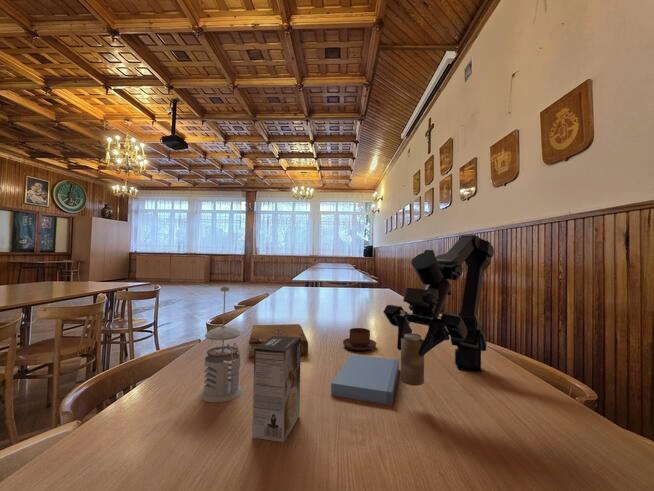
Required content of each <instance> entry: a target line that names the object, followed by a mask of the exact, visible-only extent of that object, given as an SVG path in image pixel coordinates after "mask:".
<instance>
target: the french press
mask: <svg viewBox="0 0 654 491" xmlns="http://www.w3.org/2000/svg"><path fill="white" fill-rule="evenodd" d="M229 291H230V288H229V287H228V286H226V285H224V286H223V285H222V286H221V287H220V292H223V318H222V321H223V322H222V324H223V325H221V326H217V327H215V328H213V329H210V330H209V331H207V332H206V333H205V335H204V337H205V338H206V339H207V340H211V341H222V345H221V346H216V347H212V348H210V349H208V350H207V351H206V355H207V356H205V357H204V373H205V375H204V376H203V378H204V379H205V380H204V381H203V384H204V385H203V389H202V390H201V391H200V392H199V394H198V396H199V399H200V400H202V401H204V402H208V403H223V402H228V401H231V400H234V399H236V398H238V397H240V395H241V394H243V390H244V389H243V387H242V386H241V385H240V384H239V380H240V366H241V355H240V349H239V346H238V345H237V343H236V342H234V343H233V346H230V344H226V346H224V345H225V343H224V341H227V340H233V339H236V338H238V337H240V335H241V334H242V331H240V330H239V329H237V328H235V327H232V326H227V325H225V313H226V311H225V310H226V292H229ZM224 361H225V362H224ZM229 362H231V363H229ZM206 367H207V368H206ZM229 367H230V368H229ZM229 377H230V378H229Z"/></svg>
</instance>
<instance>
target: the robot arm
mask: <svg viewBox="0 0 654 491" xmlns="http://www.w3.org/2000/svg"><path fill="white" fill-rule="evenodd" d="M435 254H436V253H435V251H434V249H424V251H423V252H421V253H418V254H417V255H416V256H415V257H413V258H412V259H411V262H410V263H411V266H412V268H413V270H414V272H415V273H416V274H415V275H416V276H417V278H418V280H419V282H420V283H421V284H423V285H424V286H423V288H415V287H406V288H405V291H404V295H403V302H404V303H406V304H408V309H409V311H412V313H411V312H410V313H409V312H407V311H406V310H404V308H403V306H401V305H397V304H395V305H394V304H387V305H386V306H385V308H384V309H383V315H384V316H385V317H386V319H387V320H388V322H389V323H390V325H392V326H394V327H397V329H398V330H397V343H396V344H397V345H396V348H397V350H398V351H401V338H403V337H404V334H407V333H412V332H413V329H412V328H411V326H410V324H411V323H414V324H416V325H417V324H418V325H423V326H426V327H428V330H427V332H426V335H425V337H424V339H423V340H424V341H423V343H422V346H421V348H420V352H419V355H420V356H423V355H424V356H425V355H426V354H427V353H429V352H430V351H431V350H432V349H433V348H435V347H436V346H438V345H439V344H441V343H443V342H444V341H449V340H450V342H451V346H455V347H456V348H455V349H454V364H455V366H456V367H457V369H458V370H461V371H468V372H475V373H483V369H482V352H486V351H487V346H488V345H487V339H486V336H485V334H484V331H483V324H482V322H481V321H480V319H479V309H480V308H479V307H480V302H481V300H480V299H481V292H482V286H483V278H484V273H485V270H486V269H487V268H489V266H490V265H491V263H492V258H494V254H495V249H494V246H493V245H492V243H491V242H490V241H488V240H485V239H483V238H480V237H479V235H475V234H465V235H464V234H463V235H460V236H459V238H458V240H457V241H456V242H455V243H454V245H453V246H451V248H449V250H448V251H447V252H446V253H443V254H439V255H435ZM464 262H465V265H466V274H465V275H466V276H465V282H464V287H463V294H462V299H461V300H462V301H461V307H460V308H461V309H460V311H459V313H457V314H453V313H445V312H444V311H445V307H444V304H445V301H446V299H447V296H451V295H452V289H451V287H452V286H451V283H450V282H449V281H455V282H456V281H458V280H459V279H460V277H461V276H462V274H463V272H464V269H463V268H464V267H463V265H462V264H463V263H464ZM441 313H442V314H441ZM440 314H441V316H440ZM439 317H440V318H439Z"/></svg>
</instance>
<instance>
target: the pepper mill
mask: <svg viewBox="0 0 654 491" xmlns="http://www.w3.org/2000/svg"><path fill="white" fill-rule="evenodd" d="M423 341H424V339H423V338H422V335H420V334H418V333H407V334H404V337H403V338H401V350H400V381H401V382H402V383H403V384H405V385H408V386H423V385H424V384H425V355H423V356H420V355H419V352H420V348H421V346H422V343H423Z"/></svg>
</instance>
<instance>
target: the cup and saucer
mask: <svg viewBox="0 0 654 491" xmlns="http://www.w3.org/2000/svg"><path fill="white" fill-rule="evenodd" d="M342 345H344V346H345V348H348V349H350V350H356V351H368V350H369V351H370V350H372V349H374V348H375V347H376V346H377V342H376V341H375V340H373V339H371V330H370V329H367V328H363V327H362V328H361V327H353V328H350V329H349V337H348V338H345V339H344V340H343V341H342Z"/></svg>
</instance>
